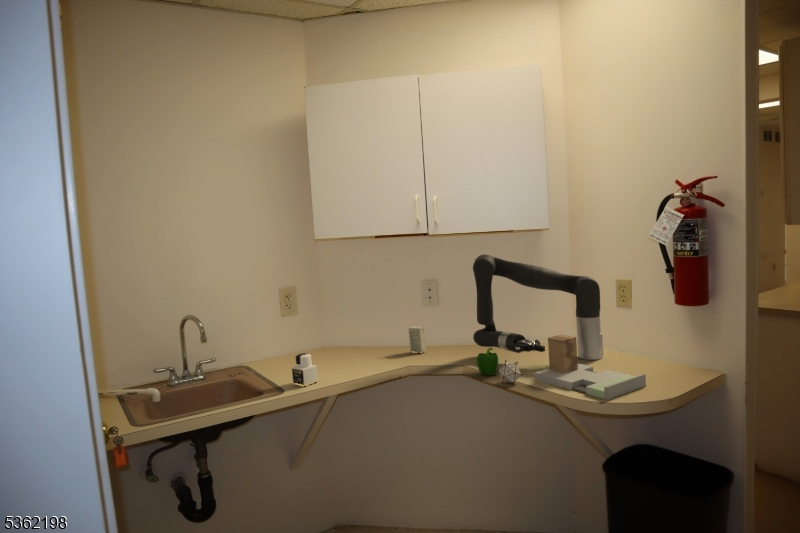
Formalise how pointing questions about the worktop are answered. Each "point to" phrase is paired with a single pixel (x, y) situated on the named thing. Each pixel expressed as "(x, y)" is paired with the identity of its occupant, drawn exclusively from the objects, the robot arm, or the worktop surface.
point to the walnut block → (562, 353)
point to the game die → (509, 372)
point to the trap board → (593, 381)
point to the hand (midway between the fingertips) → (543, 349)
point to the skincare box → (417, 339)
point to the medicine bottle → (304, 370)
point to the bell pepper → (487, 362)
